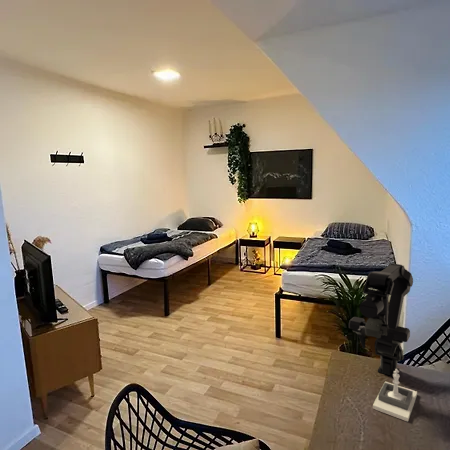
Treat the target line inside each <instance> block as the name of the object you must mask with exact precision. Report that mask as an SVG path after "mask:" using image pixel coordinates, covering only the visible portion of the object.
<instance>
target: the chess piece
mask: <svg viewBox="0 0 450 450" xmlns="http://www.w3.org/2000/svg"><path fill="white" fill-rule="evenodd" d="M397 373H398V374H397ZM399 373H400V370H399V371H398V370H397V369H395V371H394V374H393V376H392V377H393V379H392V380H391V381H392V384H394V388H393V391H391V392H388V394H387V396H389V397H392V398H395V399H398V400H400V401H404V397H403V396H402V395H401V394H400V393H398V386H399V384H401V382H400V380H399V379H400V377H401V376H400V374H399Z"/></svg>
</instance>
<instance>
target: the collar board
mask: <svg viewBox="0 0 450 450" xmlns="http://www.w3.org/2000/svg"><path fill="white" fill-rule="evenodd" d="M381 386H382V387H381V388H380V390H379V392H378V394H377V397H376V398H375V400H374V402H373V404H372V409H373V410H376V411H378V412H381V413H383V414H387V415H389V416H392V417H394V418H397V419H399V420H402V421H405V422H409V420H410V417H411V414H412V411H413V408H414V405H415V403H416V399H417V396H418V391H417V390H416V391H415V390H413V389H410V388H407V387H404V386H400V385H398V393H400V394H401V395H402V396H403V397H404V401H400V400H398V399H395V398H392V397H389V396H387V394H388V392H391V391H393V388H394V383H393V382H392V383H391V382H388V381H384V383H383V384H382V385H381Z"/></svg>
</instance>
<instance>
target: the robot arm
mask: <svg viewBox="0 0 450 450" xmlns="http://www.w3.org/2000/svg"><path fill="white" fill-rule="evenodd" d="M413 283H414V278H413V275H412V272H410V271H409V270H407V268H405V265H403V264H399V263H388V266H387V267H385V268H383V270H381V271H371V272H369V273H368V275H367V277H366V280H365V283H364V287H363V290H362V293H363V294H365V295H366V296H365V299H364V300H362V301H361V302H360V305H359V307H358V308H359V312H360V313H361V315H363V316H364V317H366V318H367V320H366V319H365V318H362V317H358V316H353V317H352V318H351V319H350V320H349V322H348V329H350V330H352V332H353V333H355V334H357V336H358V338H359V342H360V344H361V346H362V349H365V348H366V336H367V337H373V338H375V342H374V350H375V351H374V353H375V355H377V356H380V364H379V367H378V368H377V372H378V373H380V374H384V375H388V376H390V377H393V374H394V371H395V369H397V370H398V371H399V372H400V368H399V367H398V362H401V361H403V360H404V350H403V348H402V345H401V344H403V343H408V341H409V339H410V337H411V329H409V328H408V327H403V326H399V325H400V320H401V315H402V308H403V304H404V297H406V296H407V295H408V294H409V293H410V291H411V288H412V287H413ZM389 296H390V297H389ZM365 320H366V321H365ZM399 372H398V373H397V374H399Z"/></svg>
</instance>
